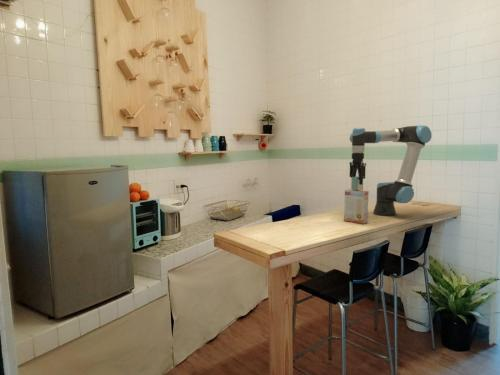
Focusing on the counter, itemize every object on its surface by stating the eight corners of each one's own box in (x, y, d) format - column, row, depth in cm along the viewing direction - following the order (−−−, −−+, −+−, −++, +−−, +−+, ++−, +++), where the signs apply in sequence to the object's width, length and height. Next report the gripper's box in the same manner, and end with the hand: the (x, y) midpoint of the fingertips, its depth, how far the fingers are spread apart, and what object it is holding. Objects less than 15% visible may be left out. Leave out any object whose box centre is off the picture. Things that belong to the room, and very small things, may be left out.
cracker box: (367, 223, 215) (369, 190, 212) (362, 224, 211) (364, 191, 208) (348, 219, 225) (349, 188, 223) (343, 220, 221) (344, 189, 219)
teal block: (357, 188, 219) (357, 176, 218) (362, 189, 214) (363, 177, 213) (351, 189, 217) (351, 176, 216) (356, 190, 212) (356, 177, 211)
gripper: (344, 152, 219) (343, 187, 222) (362, 153, 203) (361, 191, 206) (353, 152, 222) (352, 187, 225) (372, 152, 205) (371, 190, 208)
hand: (356, 188), depth 215 cm, fingers closed on teal block, 5 cm apart
